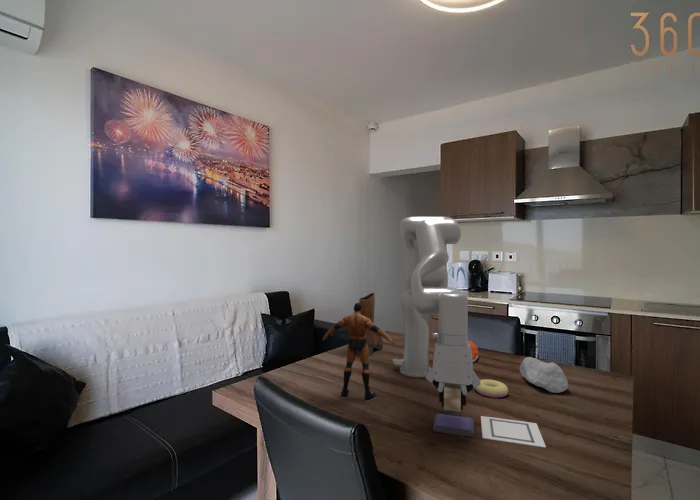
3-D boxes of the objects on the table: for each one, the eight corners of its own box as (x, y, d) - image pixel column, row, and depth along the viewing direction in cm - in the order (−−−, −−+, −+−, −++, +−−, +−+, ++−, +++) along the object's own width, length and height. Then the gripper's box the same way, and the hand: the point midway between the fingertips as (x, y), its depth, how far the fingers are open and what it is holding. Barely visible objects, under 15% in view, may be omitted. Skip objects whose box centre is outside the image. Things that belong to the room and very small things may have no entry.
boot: (372, 342, 180) (371, 289, 180) (388, 344, 176) (388, 290, 176) (348, 355, 158) (347, 295, 158) (366, 358, 153) (366, 296, 154)
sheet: (482, 438, 87) (482, 437, 87) (480, 416, 99) (480, 415, 99) (546, 447, 83) (546, 446, 83) (536, 423, 94) (536, 422, 94)
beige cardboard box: (443, 413, 93) (443, 387, 93) (444, 405, 97) (444, 380, 97) (461, 416, 91) (461, 389, 91) (461, 408, 96) (461, 382, 95)
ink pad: (433, 430, 91) (433, 425, 91) (435, 417, 99) (435, 412, 99) (474, 437, 88) (474, 431, 88) (473, 422, 96) (473, 417, 96)
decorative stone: (579, 385, 114) (561, 360, 114) (557, 405, 112) (539, 380, 112) (542, 371, 131) (527, 349, 131) (523, 388, 129) (507, 366, 129)
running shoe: (483, 355, 157) (482, 330, 157) (466, 374, 133) (466, 345, 133) (459, 352, 162) (459, 328, 162) (439, 369, 138) (439, 341, 138)
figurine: (397, 397, 112) (396, 303, 112) (392, 405, 106) (392, 306, 106) (326, 388, 120) (326, 300, 120) (319, 395, 114) (318, 302, 114)
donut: (480, 392, 122) (472, 397, 114) (479, 378, 123) (470, 382, 115) (512, 394, 116) (504, 399, 108) (510, 379, 117) (502, 383, 109)
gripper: (419, 339, 93) (419, 408, 93) (487, 345, 88) (486, 418, 88) (422, 332, 100) (422, 396, 100) (485, 337, 95) (485, 404, 95)
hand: (452, 405), depth 94 cm, fingers closed on beige cardboard box, 4 cm apart
